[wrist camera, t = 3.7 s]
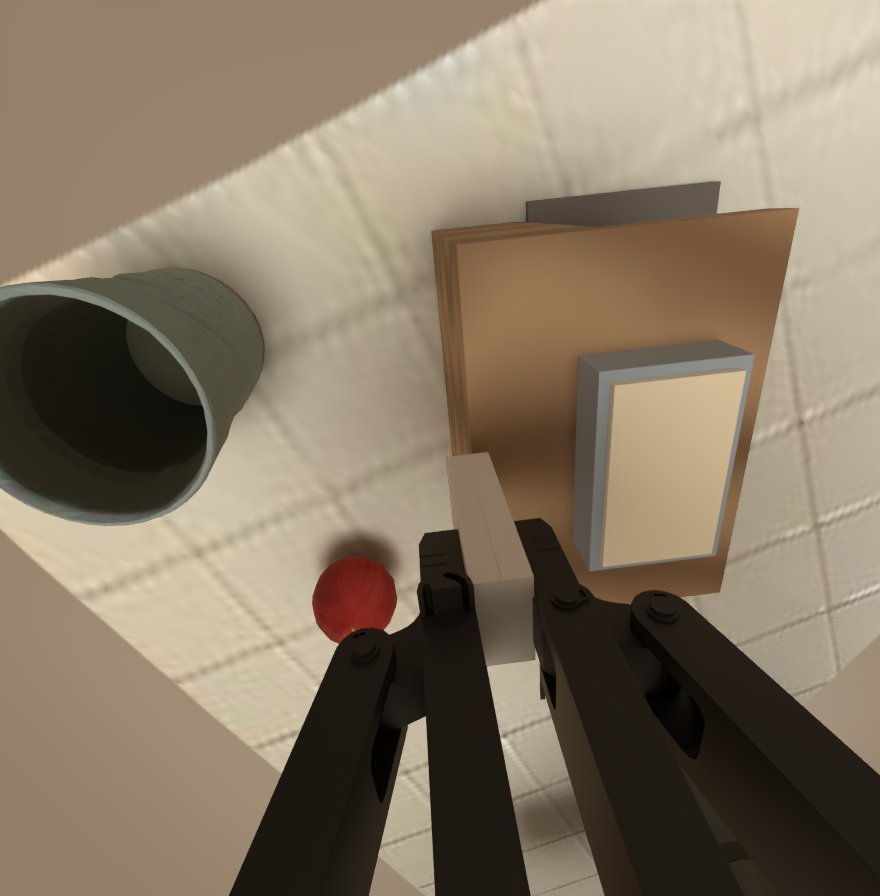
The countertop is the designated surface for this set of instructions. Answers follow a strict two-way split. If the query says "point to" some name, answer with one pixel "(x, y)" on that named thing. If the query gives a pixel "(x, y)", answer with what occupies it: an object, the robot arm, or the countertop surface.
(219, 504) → the countertop surface
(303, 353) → the countertop surface
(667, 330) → the brown flat-topped block
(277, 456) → the countertop surface
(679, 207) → the mat
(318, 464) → the countertop surface
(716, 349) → the box
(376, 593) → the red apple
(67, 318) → the grey-green tapered bin
